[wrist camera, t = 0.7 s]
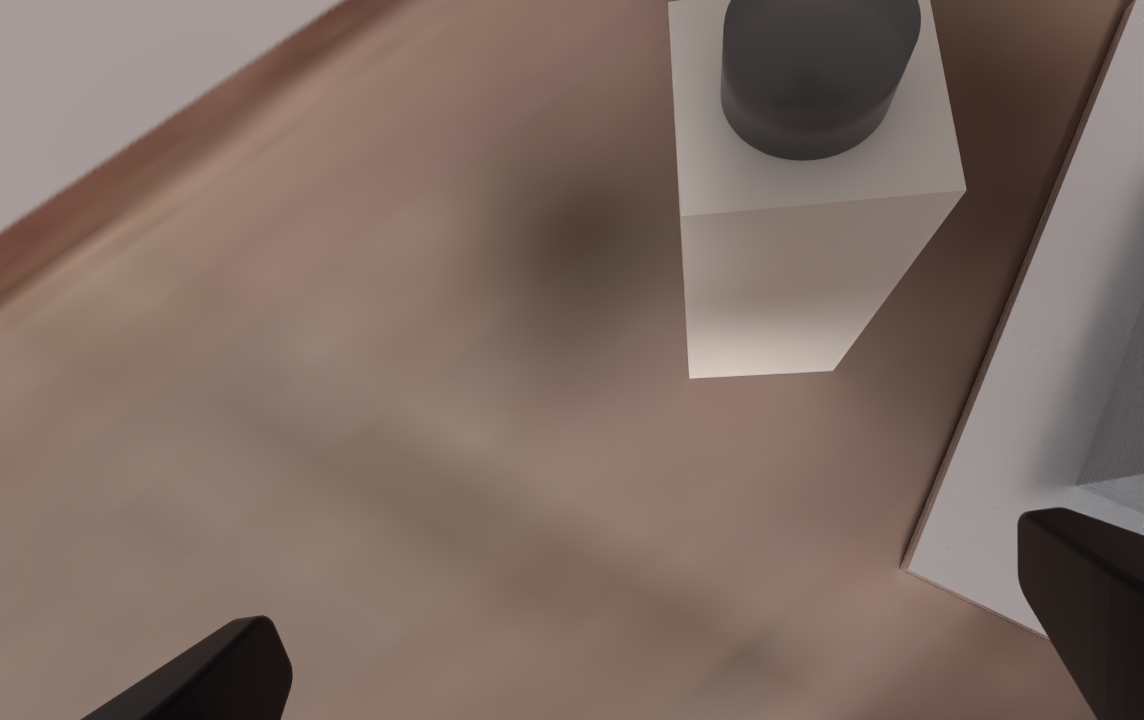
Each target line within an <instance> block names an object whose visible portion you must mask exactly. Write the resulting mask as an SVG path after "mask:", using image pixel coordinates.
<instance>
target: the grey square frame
mask: <svg viewBox="0 0 1144 720" xmlns="http://www.w3.org/2000/svg"><path fill="white" fill-rule="evenodd" d="M1054 507H1064V508H1068V509H1070V510H1073V511H1076V512H1079V513H1082V514H1085V515H1088V516H1090V517H1093V518H1096V519H1099V520H1102V521H1105V522H1107V523H1110V524H1113V525H1116V526H1119V527H1122V528H1125V529H1127V530H1130V531H1133V532H1136V533H1139V534H1142V535H1144V0H1133V1H1132V2H1131V3H1130V5H1129V6H1128V7H1127V9H1126V10H1125V11H1124V13H1123V16H1122V18H1121V21H1120V23H1119V26H1118V28H1117V31H1116V33H1115V36H1114V38H1113V41H1112V43H1111V46H1110V48H1109V50H1108V53H1107V55H1106V58H1105V60H1104V63H1103V65H1102V68H1101V70H1100V73H1099V75H1098V78H1097V80H1096V83H1095V85H1094V88H1093V90H1092V93H1091V95H1090V98H1089V100H1088V103H1087V105H1086V108H1085V110H1084V112H1083V115H1082V117H1081V120H1080V122H1079V125H1078V127H1077V130H1076V132H1075V135H1074V137H1073V140H1072V142H1071V145H1070V147H1069V150H1068V152H1067V155H1066V157H1065V160H1064V162H1063V165H1062V167H1061V169H1060V172H1059V174H1058V177H1057V179H1056V182H1055V184H1054V187H1053V189H1052V192H1051V194H1050V197H1049V199H1048V202H1047V204H1046V207H1045V209H1044V212H1043V214H1042V217H1041V219H1040V222H1039V224H1038V227H1037V229H1036V231H1035V234H1034V236H1033V239H1032V241H1031V244H1030V246H1029V249H1028V251H1027V254H1026V256H1025V259H1024V261H1023V264H1022V266H1021V269H1020V271H1019V274H1018V276H1017V279H1016V281H1015V284H1014V286H1013V289H1012V291H1011V293H1010V296H1009V298H1008V301H1007V303H1006V306H1005V308H1004V311H1003V313H1002V316H1001V318H1000V321H999V323H998V326H997V328H996V331H995V333H994V336H993V338H992V341H991V343H990V346H989V348H988V350H987V353H986V355H985V358H984V360H983V363H982V365H981V368H980V370H979V373H978V375H977V378H976V380H975V383H974V385H973V388H972V390H971V393H970V395H969V398H968V400H967V403H966V405H965V408H964V410H963V412H962V415H961V417H960V420H959V422H958V425H957V427H956V430H955V432H954V435H953V437H952V440H951V442H950V445H949V447H948V450H947V452H946V455H945V457H944V460H943V462H942V465H941V467H940V470H939V472H938V474H937V477H936V479H935V482H934V484H933V487H932V489H931V492H930V494H929V497H928V499H927V502H926V504H925V507H924V509H923V512H922V514H921V517H920V519H919V522H918V524H917V527H916V529H915V532H914V534H913V536H912V539H911V541H910V544H909V546H908V549H907V551H906V554H905V556H904V559H903V561H902V564H901V566H900V569H902V570H904V571H906V572H908V573H910V574H912V575H914V576H916V577H918V578H920V579H922V580H924V581H927V582H929V583H931V584H933V585H935V586H937V587H939V588H941V589H943V590H945V591H947V592H949V593H951V594H953V595H956V596H958V597H960V598H962V599H964V600H966V601H968V602H970V603H972V604H974V605H976V606H978V607H980V608H982V609H985V610H987V611H989V612H991V613H993V614H995V615H997V616H999V617H1001V618H1003V619H1005V620H1007V621H1009V622H1011V623H1014V624H1016V625H1018V626H1020V627H1022V628H1024V629H1026V630H1028V631H1030V632H1032V633H1034V634H1036V635H1038V636H1040V637H1043V638H1045V639H1047V640H1049V641H1050V639H1049V638H1048V636H1047V634H1046V633H1045V631H1044V629H1043V627H1042V626H1041V624H1040V622H1039V621H1038V619H1037V617H1036V616H1035V614H1034V612H1033V611H1032V609H1031V607H1030V606H1029V604H1028V602H1027V600H1026V599H1025V597H1024V595H1023V592H1022V590H1021V587H1020V584H1019V580H1018V569H1017V524H1018V519H1019V517H1020V516H1021V515H1022V514H1023V513H1024V512H1026V511H1032V510H1039V509H1046V508H1054Z"/></svg>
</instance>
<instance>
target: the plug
mask: <svg viewBox="0 0 1144 720" xmlns="http://www.w3.org/2000/svg"><path fill="white" fill-rule="evenodd" d="M668 10H669V28H670V46H671V64H672V82H673V100H674V118H675V136H676V154H677V172H678V190H679V208H680V226H681V244H682V262H683V279H684V296H685V313H686V330H687V347H688V364H689V378H708V377H727V376H747V375H766V374H785V373H804V372H824V371H833V370H834V369H835V367H836V366H837V365H838V363H839V362H840V361H841V359H842V358H843V357H844V355H845V354H846V352H847V351H848V350H849V348H850V347H851V346H852V344H853V343H854V342H855V340H856V339H857V338H858V336H859V335H860V334H861V332H862V331H863V330H864V328H865V327H866V325H867V324H868V323H869V321H870V320H871V319H872V317H873V316H874V315H875V313H876V312H877V311H878V309H879V308H880V307H881V305H882V304H883V302H884V301H885V300H886V298H887V297H888V296H889V294H890V293H891V292H892V290H893V289H894V288H895V286H896V285H897V284H898V282H899V281H900V279H901V278H902V277H903V275H904V274H905V273H906V271H907V270H908V269H909V267H910V266H911V265H912V263H913V262H914V261H915V259H916V258H917V256H918V255H919V254H920V252H921V251H922V250H923V248H924V247H925V246H926V244H927V243H928V242H929V240H930V239H931V238H932V236H933V235H934V233H935V232H936V231H937V229H938V228H939V227H940V225H941V224H942V223H943V221H944V220H945V219H946V217H947V216H948V215H949V213H950V212H951V210H952V209H953V208H954V206H955V205H956V204H957V202H958V201H959V200H960V198H961V197H962V196H963V194H964V193H965V192H966V190H967V189H966V184H965V179H964V174H963V169H962V163H961V158H960V153H959V148H958V143H957V137H956V132H955V127H954V122H953V117H952V111H951V106H950V101H949V96H948V91H947V86H946V80H945V75H944V70H943V65H942V60H941V54H940V49H939V44H938V39H937V34H936V29H935V23H934V18H933V13H932V8H931V3H930V0H679V1H672V2H668Z"/></svg>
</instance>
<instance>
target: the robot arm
mask: <svg viewBox="0 0 1144 720" xmlns="http://www.w3.org/2000/svg"><path fill="white" fill-rule="evenodd" d="M1017 569H1018V580H1019V584H1020V587H1021V590H1022V592H1023V595H1024V597H1025V599H1026V600H1027V602H1028V604H1029V606H1030V607H1031V609H1032V611H1033V612H1034V614H1035V616H1036V617H1037V619H1038V621H1039V622H1040V624H1041V626H1042V627H1043V629H1044V631H1045V633H1046V634H1047V636H1048V638H1049V639H1050V641H1051V643H1052V644H1053V646H1054V648H1055V649H1056V651H1057V653H1058V654H1059V656H1060V658H1061V660H1062V661H1063V663H1064V665H1065V666H1066V668H1067V670H1068V671H1069V673H1070V675H1071V676H1072V678H1073V680H1074V682H1075V683H1076V685H1077V687H1078V688H1079V690H1080V692H1081V693H1082V695H1083V697H1084V698H1085V700H1086V702H1087V703H1088V705H1089V707H1090V708H1091V710H1092V712H1093V713H1094V715H1095V716H1096V718H1097V720H1144V535H1142V534H1139V533H1136V532H1133V531H1130V530H1127V529H1125V528H1122V527H1119V526H1116V525H1113V524H1110V523H1107V522H1105V521H1102V520H1099V519H1096V518H1093V517H1090V516H1088V515H1085V514H1082V513H1079V512H1076V511H1073V510H1070V509H1068V508H1064V507H1054V508H1046V509H1039V510H1032V511H1026V512H1024V513H1023V514H1022V515H1021V516H1020V517H1019V519H1018V524H1017ZM292 678H293V674H292V666H291V663H290V660H289V658H288V655H287V653H286V651H285V648H284V646H283V644H282V641H281V639H280V637H279V634H278V632H277V630H276V627H275V625H274V623H273V621H272V620H271V619H270V618H268V617H266V616H263V615H261V616H253V617H246V618H239V619H235V620H233V621H231V622H229V623H228V624H226V625H225V626H223V627H222V628H220V629H218V630H217V631H215V632H214V633H212V634H211V635H209V636H208V637H206V638H205V639H203V640H202V641H200V642H199V643H197V644H196V645H194V646H193V647H191V648H189V649H188V650H186V651H185V652H183V653H182V654H180V655H179V656H177V657H176V658H174V659H173V660H171V661H170V662H168V663H167V664H165V665H163V666H162V667H160V668H159V669H157V670H156V671H154V672H153V673H151V674H150V675H148V676H147V677H145V678H144V679H142V680H141V681H139V682H138V683H136V684H134V685H133V686H131V687H130V688H128V689H127V690H125V691H124V692H122V693H121V694H119V695H118V696H116V697H115V698H113V699H112V700H110V701H108V702H107V703H105V704H104V705H102V706H101V707H99V708H98V709H96V710H95V711H93V712H92V713H90V714H89V715H87V716H86V717H84V718H83V719H81V720H281V717H282V714H283V711H284V707H285V704H286V701H287V698H288V695H289V692H290V689H291V685H292Z"/></svg>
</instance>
